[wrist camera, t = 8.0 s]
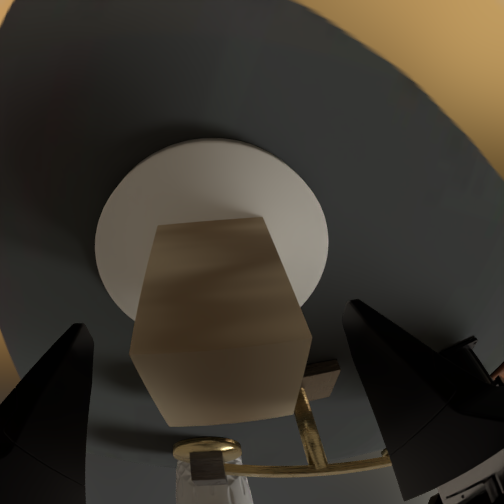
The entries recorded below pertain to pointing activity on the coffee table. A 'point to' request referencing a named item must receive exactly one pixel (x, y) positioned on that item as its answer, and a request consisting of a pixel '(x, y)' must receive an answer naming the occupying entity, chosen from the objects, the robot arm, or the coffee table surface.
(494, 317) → the coffee table surface
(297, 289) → the dish
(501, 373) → the sunglasses case
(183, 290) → the block
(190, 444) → the balance
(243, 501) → the white cup
